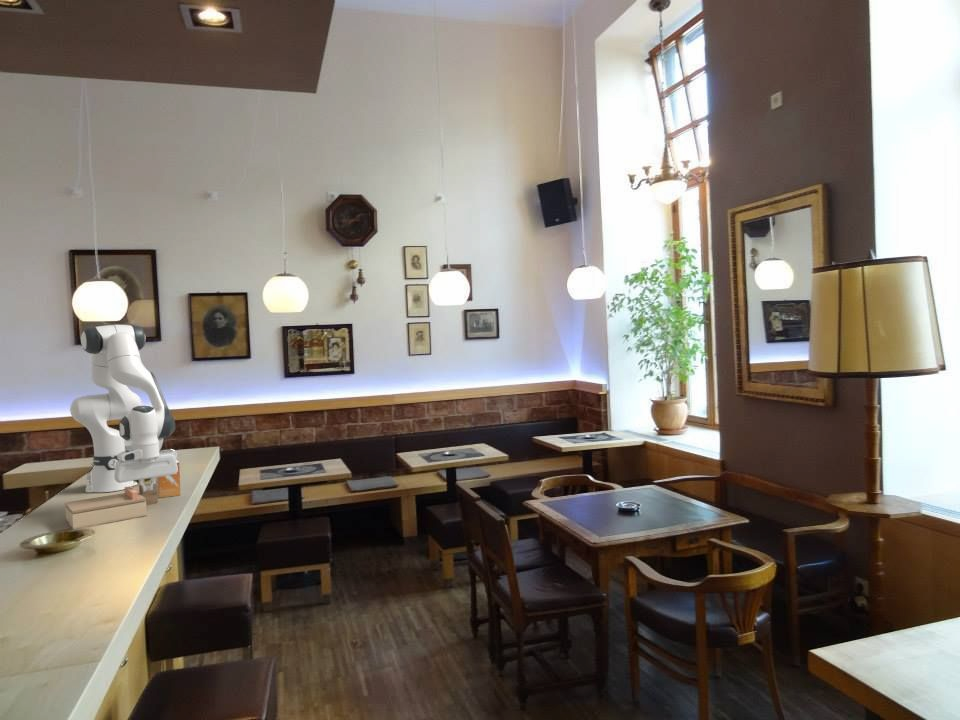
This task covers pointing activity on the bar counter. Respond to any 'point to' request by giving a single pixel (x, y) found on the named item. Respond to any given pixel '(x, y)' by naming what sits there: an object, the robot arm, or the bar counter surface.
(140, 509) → the open wooden box
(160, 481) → the small box
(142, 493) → the walnut block
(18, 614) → the bar counter surface
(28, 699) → the bar counter surface
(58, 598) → the bar counter surface
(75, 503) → the lid
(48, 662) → the bar counter surface
